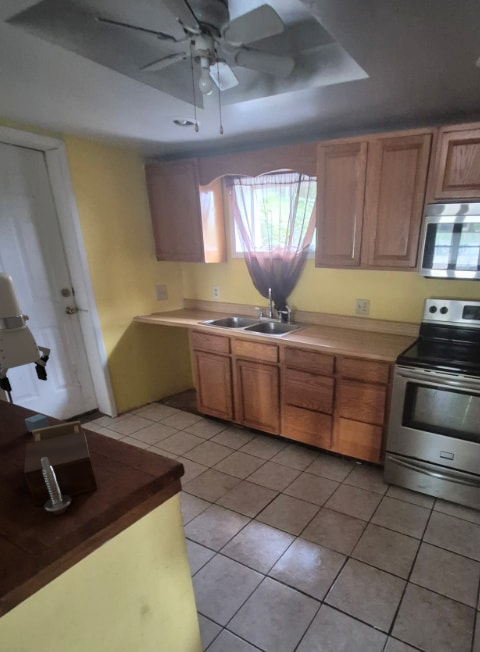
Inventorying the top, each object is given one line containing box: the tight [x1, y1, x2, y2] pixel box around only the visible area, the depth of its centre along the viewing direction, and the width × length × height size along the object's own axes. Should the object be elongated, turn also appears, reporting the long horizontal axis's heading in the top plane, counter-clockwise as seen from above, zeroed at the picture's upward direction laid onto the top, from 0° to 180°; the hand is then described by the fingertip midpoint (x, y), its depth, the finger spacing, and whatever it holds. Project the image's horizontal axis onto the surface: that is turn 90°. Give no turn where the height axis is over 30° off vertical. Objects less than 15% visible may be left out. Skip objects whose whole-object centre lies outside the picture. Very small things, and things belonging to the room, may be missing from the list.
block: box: [24, 413, 51, 433], centre depth 107 cm, size 4×4×4 cm
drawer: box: [31, 420, 83, 442], centre depth 93 cm, size 17×10×7 cm, turn 32°
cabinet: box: [23, 430, 99, 508], centre depth 84 cm, size 14×12×9 cm
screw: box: [41, 457, 73, 516], centre depth 74 cm, size 13×5×5 cm
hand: (25, 384), depth 103 cm, fingers open, 9 cm apart
